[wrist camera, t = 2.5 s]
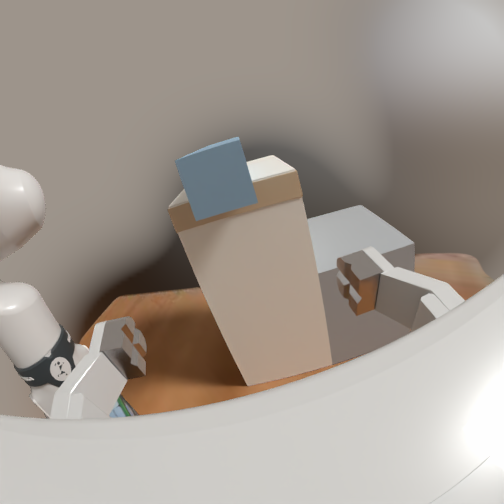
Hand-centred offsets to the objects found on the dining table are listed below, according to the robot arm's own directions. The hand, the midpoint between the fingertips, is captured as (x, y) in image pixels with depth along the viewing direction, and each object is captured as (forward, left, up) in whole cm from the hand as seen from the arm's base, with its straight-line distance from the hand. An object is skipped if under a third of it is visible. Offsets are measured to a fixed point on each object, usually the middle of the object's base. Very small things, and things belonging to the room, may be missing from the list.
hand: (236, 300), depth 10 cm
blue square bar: (-8, +16, +1) cm, 18 cm away
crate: (+1, +27, -25) cm, 36 cm away
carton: (-10, +22, -25) cm, 34 cm away
